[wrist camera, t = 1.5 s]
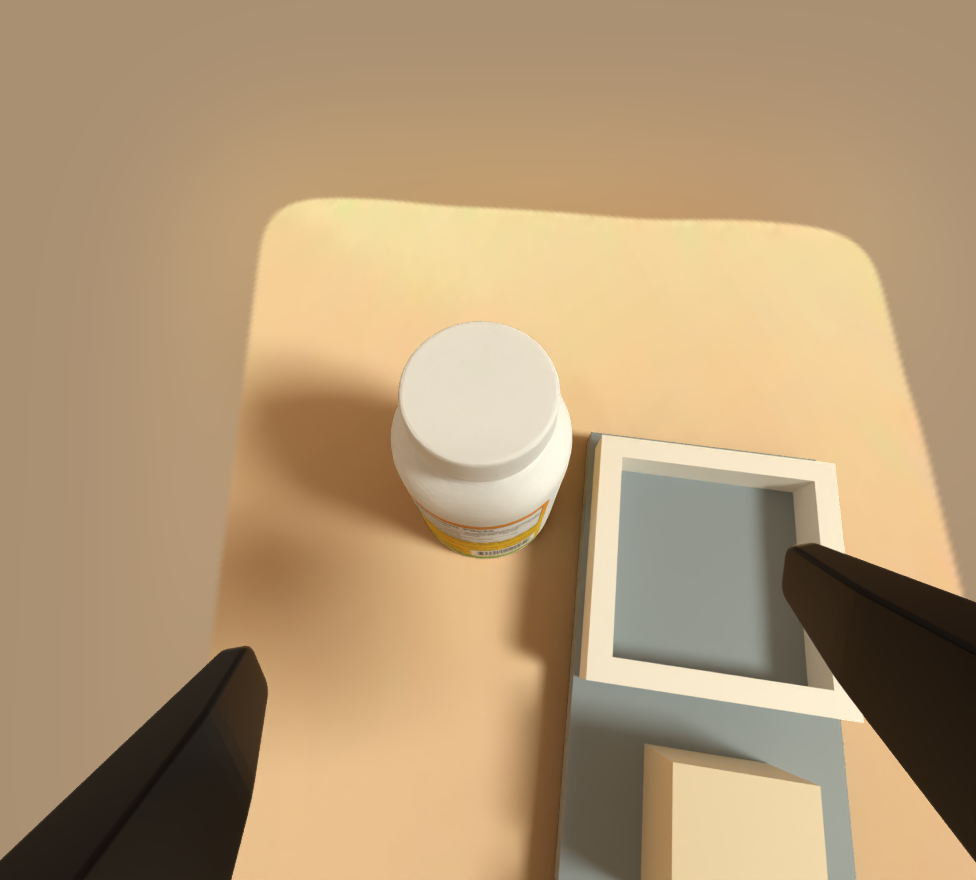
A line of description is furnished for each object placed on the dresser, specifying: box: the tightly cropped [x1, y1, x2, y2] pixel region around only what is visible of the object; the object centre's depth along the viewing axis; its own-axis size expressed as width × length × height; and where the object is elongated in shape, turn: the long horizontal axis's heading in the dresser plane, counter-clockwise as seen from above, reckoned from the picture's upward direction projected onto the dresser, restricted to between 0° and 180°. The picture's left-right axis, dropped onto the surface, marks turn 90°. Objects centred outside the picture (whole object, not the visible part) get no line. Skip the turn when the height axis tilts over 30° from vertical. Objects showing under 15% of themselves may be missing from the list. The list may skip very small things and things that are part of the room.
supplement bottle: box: [391, 321, 572, 559], centre depth 17 cm, size 5×5×10 cm
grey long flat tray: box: [554, 432, 864, 880], centre depth 16 cm, size 22×9×4 cm, turn 172°
